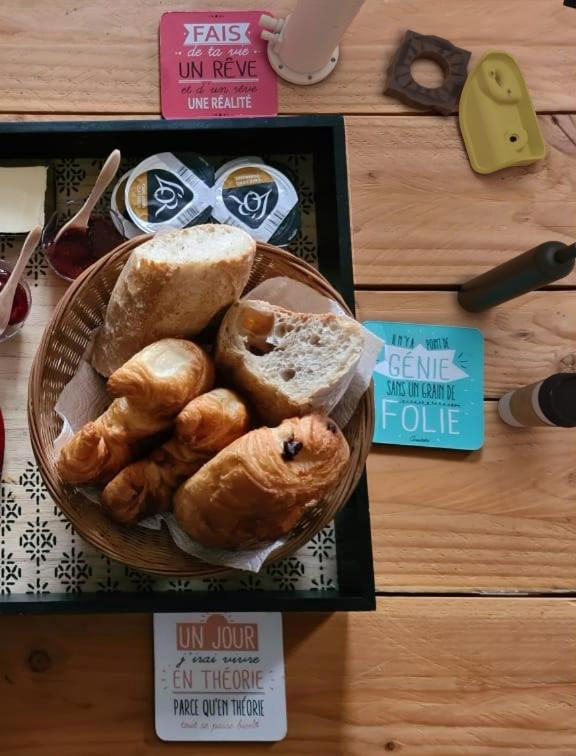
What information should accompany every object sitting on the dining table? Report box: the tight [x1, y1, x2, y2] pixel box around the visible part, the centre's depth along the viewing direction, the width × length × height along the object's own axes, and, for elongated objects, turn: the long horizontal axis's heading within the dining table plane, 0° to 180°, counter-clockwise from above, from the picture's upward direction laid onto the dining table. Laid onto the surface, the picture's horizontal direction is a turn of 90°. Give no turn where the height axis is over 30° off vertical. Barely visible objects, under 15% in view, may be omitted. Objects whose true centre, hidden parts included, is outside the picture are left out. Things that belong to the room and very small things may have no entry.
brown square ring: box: [382, 29, 473, 117], centre depth 130 cm, size 13×13×2 cm
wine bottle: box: [457, 240, 576, 314], centre depth 110 cm, size 6×6×30 cm
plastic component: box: [458, 49, 547, 175], centre depth 128 cm, size 20×7×10 cm
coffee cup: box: [497, 371, 576, 429], centre depth 115 cm, size 8×8×15 cm
